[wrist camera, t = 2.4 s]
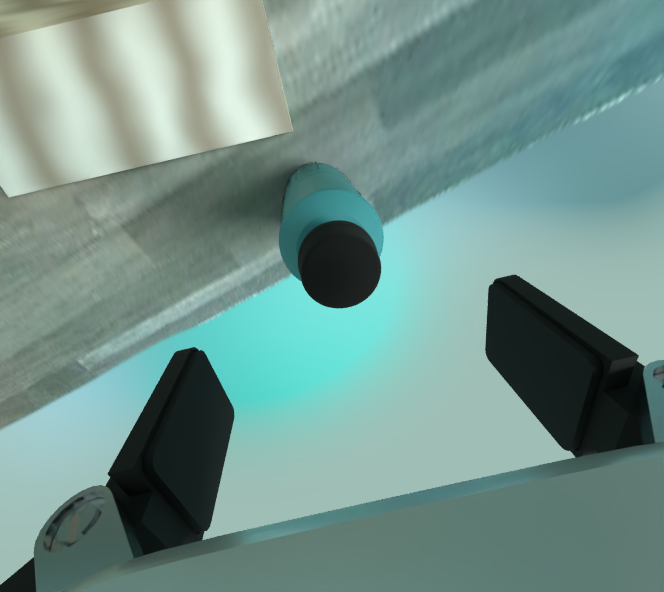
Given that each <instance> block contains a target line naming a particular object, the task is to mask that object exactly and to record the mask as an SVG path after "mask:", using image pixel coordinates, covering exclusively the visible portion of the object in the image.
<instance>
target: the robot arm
mask: <svg viewBox="0 0 664 592" xmlns="http://www.w3.org/2000/svg"><path fill="white" fill-rule="evenodd" d="M485 351H486V355H487V357H488V360H489V361H490V362H491V363H492V365H493V366H494V367H495V368H496V369H497V371H498V372H499V373H500V374H501V375H502V377H503V378H504V379H505V380H506V381H507V383H508V384H509V385H510V386H511V387H512V389H513V390H514V391H515V392H516V393H517V394H518V396H519V397H520V398H521V399H522V401H523V402H524V403H525V404H526V405H527V407H528V408H529V409H530V410H531V411H532V412H533V414H534V415H535V416H536V417H537V419H538V420H539V421H540V422H541V423H542V425H543V426H544V427H545V428H546V429H547V431H548V432H549V433H550V434H551V435H552V437H553V438H554V439H555V440H556V441H557V443H558V444H559V445H560V446H561V447H562V448H563V449H564V450H567V451H571V452H572V453H573V455H574V456H575V457H576V458H571V459H566V460H562V461H557V462H552V463H547V464H543V465H538V466H534V467H529V468H525V469H520V470H515V471H510V472H506V473H501V474H497V475H492V476H487V477H482V478H478V479H473V480H469V481H464V482H459V483H454V484H450V485H445V486H441V487H436V488H432V489H427V490H423V491H418V492H413V493H409V494H405V495H400V496H395V497H391V498H386V499H382V500H377V501H373V502H369V503H364V504H359V505H355V506H350V507H346V508H341V509H337V510H332V511H328V512H324V513H319V514H314V515H310V516H305V517H302V518H297V519H292V520H288V521H283V522H280V523H275V524H271V525H266V526H261V527H257V528H253V529H248V530H244V531H239V532H235V533H230V534H227V535H222V536H218V537H214V538H210V539H206V540H202V539H203V534H204V531H207V530H208V529H209V527H210V524H211V520H212V516H213V511H214V506H215V502H216V498H217V493H218V488H219V484H220V479H221V475H222V470H223V466H224V461H225V457H226V452H227V448H228V443H229V439H230V434H231V430H232V425H233V421H234V409H233V406H232V404H231V402H230V400H229V398H228V397H227V395H226V393H225V391H224V389H223V387H222V385H221V383H220V381H219V379H218V378H217V375H216V373H215V372H214V370H213V368H212V366H211V364H210V362H209V360H208V358H207V356H206V354H205V353H204V352H203V351H202V350H200V351H199V350H198V349H197V348H195V347H193V348H189V349H184V350H180V351H177V352H175V353H174V355H173V357H172V358H171V360H170V362H169V364H168V366H167V367H166V369H165V371H164V373H163V375H162V376H161V378H160V380H159V382H158V384H157V385H156V387H155V389H154V391H153V393H152V395H151V397H150V398H149V400H148V402H147V404H146V406H145V407H144V409H143V411H142V413H141V414H140V416H139V418H138V420H137V422H136V424H135V425H134V427H133V429H132V431H131V432H130V434H129V436H128V438H127V440H126V442H125V443H124V445H123V447H122V449H121V451H120V452H119V454H118V456H117V458H116V460H115V461H114V463H113V465H112V467H111V469H110V470H109V472H108V475H109V476H110V479H109V481H108V482H107V484H106V486H102V485H100V486H93V487H90V488H88V489H85V490H83V491H81V492H79V493H78V494H76V495H74V496H73V497H71V498H70V499H69V500H67V501H66V502H65V503H64V504H63V505H62V506H60V507H59V508H58V509H57V510H56V511H55V512H54V514H53V515H52V516H51V517H50V518H49V519H48V521H47V522H46V523H45V525H44V526H43V528H42V529H41V531H40V533H39V535H38V537H37V540H36V542H35V548H34V557H33V558H32V559H31V560H30V561H29V562H27V563H26V564H25V565H24V566H23V567H22V568H20V569H19V570H18V571H17V572H16V573H14V574H13V575H12V576H11V577H10V578H8V579H7V580H6V581H5V582H3V583H2V584H1V585H0V592H664V360H658V361H655V362H651V363H649V364H648V365H646V366H643V365H642V364H640V363H639V362H637V359H638V355H637V354H636V353H634V352H633V351H631V350H630V349H628V348H627V347H625V346H624V345H622V344H621V343H619V342H617V341H616V340H615V339H613V338H611V337H610V336H608V335H607V334H605V333H604V332H602V331H601V330H599V329H598V328H596V327H595V326H593V325H592V324H590V323H589V322H587V321H586V320H584V319H583V318H581V317H580V316H578V315H577V314H575V313H574V312H572V311H570V310H569V309H568V308H566V307H564V306H563V305H561V304H560V303H558V302H557V301H555V300H554V299H552V298H551V297H549V296H548V295H546V294H545V293H543V292H542V291H540V290H539V289H537V288H536V287H534V286H533V285H531V284H530V283H528V282H526V281H525V280H523V279H522V278H520V277H519V276H517V275H511V276H506V277H502V278H498V279H495V280H494V282H493V284H491V285H490V286H489V292H488V311H487V329H486V348H485Z"/></svg>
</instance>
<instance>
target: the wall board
mask: <svg viewBox="0 0 664 592" xmlns="http://www.w3.org/2000/svg"><path fill="white" fill-rule="evenodd" d="M291 131H293V128H292V124H291V120H290V115H289V111H288V107H287V103H286V98H285V94H284V90H283V85H282V81H281V77H280V73H279V68H278V64H277V60H276V55H275V51H274V47H273V43H272V38H271V34H270V30H269V26H268V21H267V17H266V13H265V8H264V4H263V0H0V186H1V187H2V189H3V190H4V191H5V193H6V194H7V196H8V197H12V196H17V195H21V194H25V193H30V192H34V191H38V190H42V189H47V188H51V187H55V186H60V185H64V184H68V183H73V182H77V181H81V180H85V179H90V178H94V177H98V176H103V175H107V174H111V173H115V172H120V171H124V170H128V169H133V168H137V167H141V166H145V165H150V164H154V163H158V162H163V161H167V160H171V159H175V158H180V157H184V156H188V155H193V154H197V153H201V152H206V151H210V150H214V149H218V148H223V147H227V146H231V145H236V144H240V143H244V142H248V141H253V140H257V139H261V138H266V137H270V136H274V135H278V134H283V133H287V132H291Z"/></svg>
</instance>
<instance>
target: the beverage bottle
mask: <svg viewBox="0 0 664 592" xmlns="http://www.w3.org/2000/svg"><path fill="white" fill-rule="evenodd" d="M307 164H308V165H305V166H303V167H301V168H300V169H299V170H297V171H296V172H295V173H294V174H293V176H292V177H291V179H290V178H289V180H288V182H287V185H286V186H287V189H286V195H285V201H284V208H283V211H282V209H281V211H282V212H283V216H282V224H281V228H280V233H279V247H280V252H281V256H282V258H283V261H284V263H285V265H286V266H287V268H288V269H289V271H290V272H291V273H292V274H293V275H294V276H295V277H296V278H298V279H299V280H300V281H302V284H303V286H304V288H305V290H306V292H307V293H308V294H309V296H310V297H311V298H312V299H314V300H315V301H316V302H318V303H320V304H321V305H324V306H327V307H331V308H347V307H351V306H354V305H357V304H359V303H361V302H362V301H364V300H365V299H367V298H368V297H369V296H370V295H371V294H372V293H373V291H374V290H375V288H376V287H377V284H378V282H379V279H380V275H381V262H380V258H379V257H380V254H381V252H382V247H383V237H384V236H383V228H382V224H381V221H380V218H379V216H378V214H377V213H376V211H375V210H374V208H373V207H372V206H371V205H370V204H369V203H368V202H367V201H366V200H365V199H364V198H362V197H361V194H360V193H359V192H358V191H359V190H358V191H357V190H356V189H355V188H354V187H353V185H351V183H350V182H349V181H348V180H349V179H346V178H345V177H344V176H343V175H342V174H341V173H340V172H339V171H340V170H339V169H338V168H337V169H338V170H339V171H338V170H337V169H335V168H334V167H332V166H330V165H327V164H324V163H316V162H315V163H312V164H311V163H310V164H309V163H307ZM303 165H304V164H303ZM343 174H344V173H343ZM344 175H345V174H344ZM290 176H291V175H290ZM345 176H346V175H345ZM350 181H351V180H350ZM354 186H355V185H354ZM285 188H286V187H285ZM283 199H284V196H283ZM282 202H283V201H282ZM281 207H282V206H281ZM280 223H281V222H280Z"/></svg>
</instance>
